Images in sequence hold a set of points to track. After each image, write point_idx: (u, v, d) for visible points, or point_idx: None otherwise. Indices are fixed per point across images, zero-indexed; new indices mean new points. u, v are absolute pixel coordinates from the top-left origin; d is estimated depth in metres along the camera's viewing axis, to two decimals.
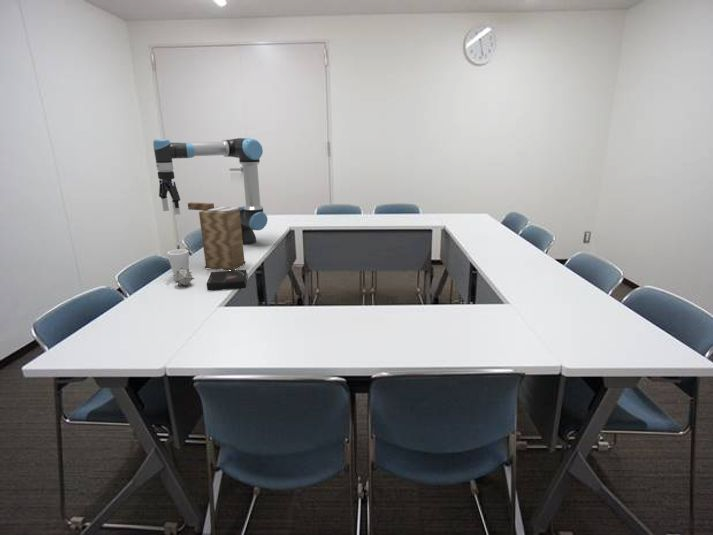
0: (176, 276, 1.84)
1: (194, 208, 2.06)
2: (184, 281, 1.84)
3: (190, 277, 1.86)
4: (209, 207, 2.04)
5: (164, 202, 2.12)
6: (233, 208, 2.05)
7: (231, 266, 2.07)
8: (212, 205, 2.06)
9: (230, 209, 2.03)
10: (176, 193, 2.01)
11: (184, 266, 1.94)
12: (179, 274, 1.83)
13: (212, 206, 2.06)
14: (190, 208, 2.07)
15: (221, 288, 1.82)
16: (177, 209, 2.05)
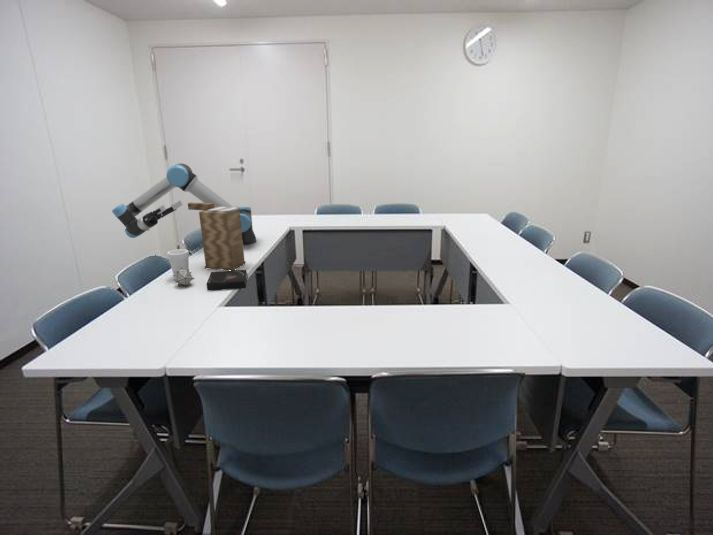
0: (176, 276, 1.84)
1: (194, 208, 2.06)
2: (184, 281, 1.84)
3: (190, 277, 1.86)
4: (209, 207, 2.04)
5: (175, 207, 2.30)
6: (233, 208, 2.05)
7: (231, 266, 2.07)
8: (212, 205, 2.06)
9: (230, 209, 2.03)
10: (149, 215, 2.18)
11: (184, 266, 1.94)
12: (179, 274, 1.83)
13: (212, 206, 2.06)
14: (190, 208, 2.07)
15: (221, 288, 1.82)
16: (161, 208, 2.16)
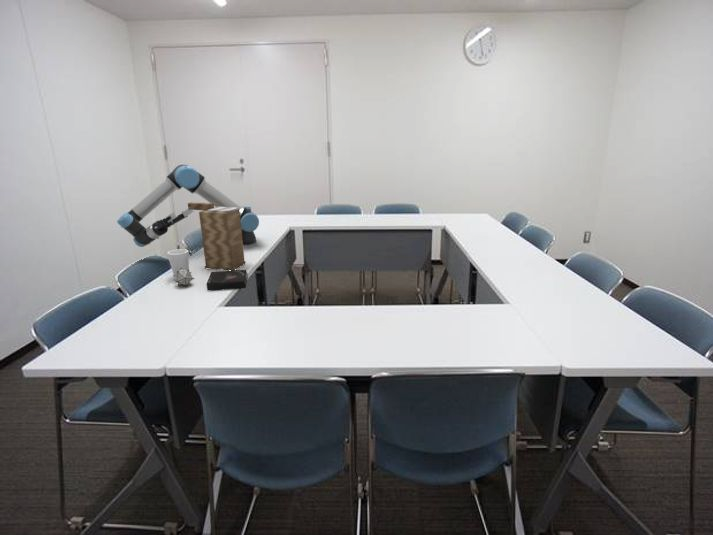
0: (176, 276, 1.84)
1: (194, 208, 2.06)
2: (184, 281, 1.84)
3: (190, 277, 1.86)
4: (209, 207, 2.04)
5: (186, 213, 2.17)
6: (233, 208, 2.05)
7: (231, 266, 2.07)
8: (212, 205, 2.06)
9: (230, 209, 2.03)
10: (158, 223, 2.05)
11: (184, 266, 1.94)
12: (179, 274, 1.83)
13: (212, 206, 2.06)
14: (190, 208, 2.07)
15: (221, 288, 1.82)
16: (171, 215, 2.04)
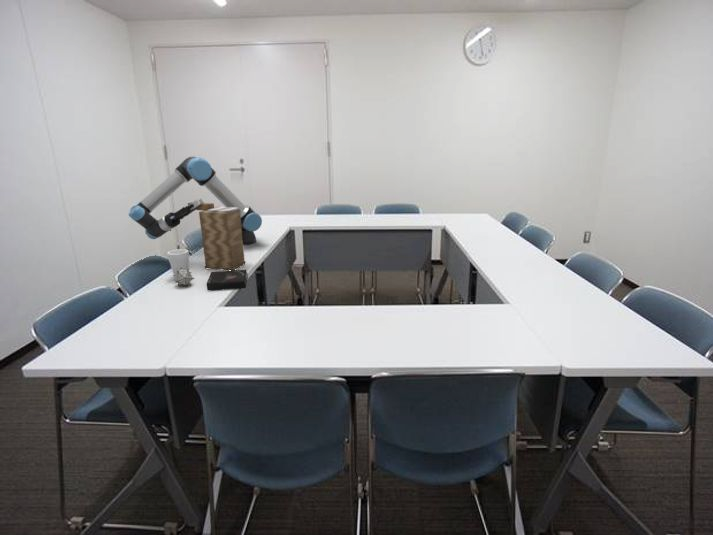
0: (176, 276, 1.84)
1: (194, 208, 2.06)
2: (184, 281, 1.84)
3: (190, 277, 1.86)
4: (209, 207, 2.04)
5: None
6: (233, 208, 2.05)
7: (231, 266, 2.07)
8: (212, 205, 2.06)
9: (230, 209, 2.03)
10: (179, 212, 2.05)
11: (184, 266, 1.94)
12: (179, 274, 1.83)
13: (212, 206, 2.06)
14: None
15: (221, 288, 1.82)
16: (194, 203, 2.05)
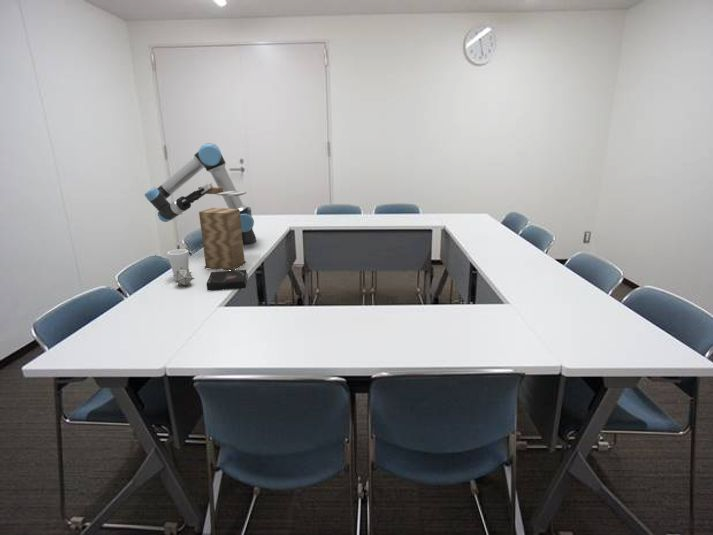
0: (176, 276, 1.84)
1: (204, 192, 2.19)
2: (184, 281, 1.84)
3: (190, 277, 1.86)
4: (219, 191, 2.17)
5: None
6: (241, 192, 2.18)
7: (231, 266, 2.07)
8: (221, 189, 2.18)
9: (238, 193, 2.15)
10: (190, 195, 2.17)
11: (184, 266, 1.94)
12: (179, 274, 1.83)
13: (221, 190, 2.18)
14: None
15: (221, 288, 1.82)
16: (204, 187, 2.17)
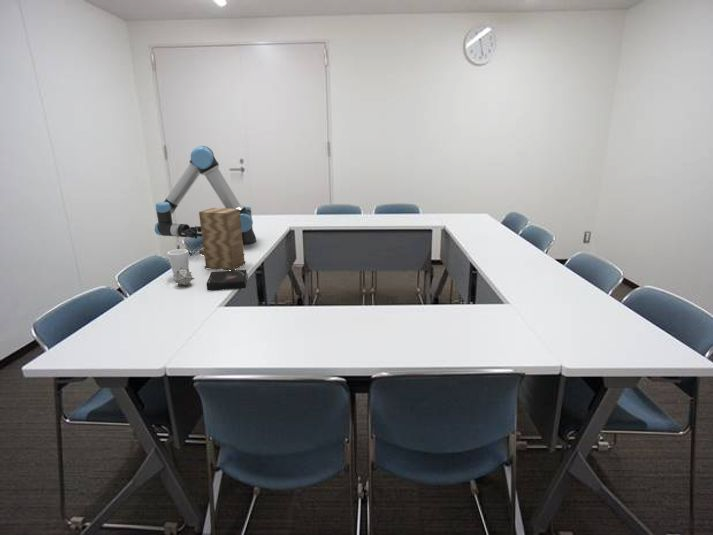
0: (176, 276, 1.84)
1: None
2: (184, 281, 1.84)
3: (190, 277, 1.86)
4: None
5: None
6: None
7: (231, 266, 2.07)
8: None
9: None
10: (188, 234, 2.22)
11: (184, 266, 1.94)
12: (179, 274, 1.83)
13: None
14: None
15: (221, 288, 1.82)
16: None
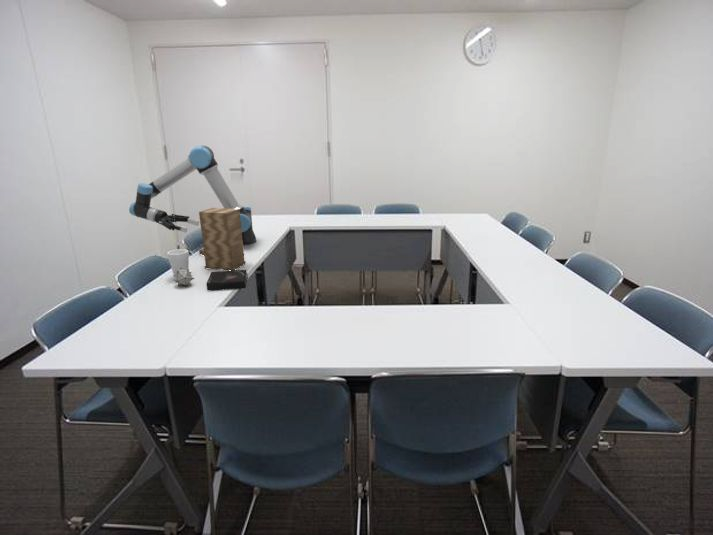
0: (176, 276, 1.84)
1: None
2: (184, 281, 1.84)
3: (190, 277, 1.86)
4: None
5: (190, 222, 2.37)
6: None
7: (231, 266, 2.07)
8: None
9: None
10: (166, 225, 2.22)
11: (184, 266, 1.94)
12: (179, 274, 1.83)
13: None
14: None
15: (221, 288, 1.82)
16: (182, 228, 2.24)
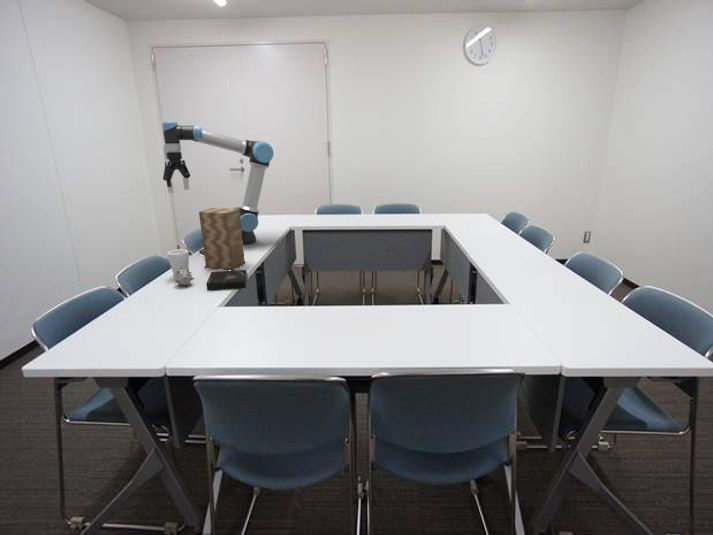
0: (176, 276, 1.84)
1: None
2: (184, 281, 1.84)
3: (190, 277, 1.86)
4: None
5: (184, 181, 2.28)
6: None
7: (231, 266, 2.07)
8: None
9: None
10: (166, 172, 2.12)
11: (184, 266, 1.94)
12: (179, 274, 1.83)
13: None
14: None
15: (221, 288, 1.82)
16: (170, 188, 2.16)
